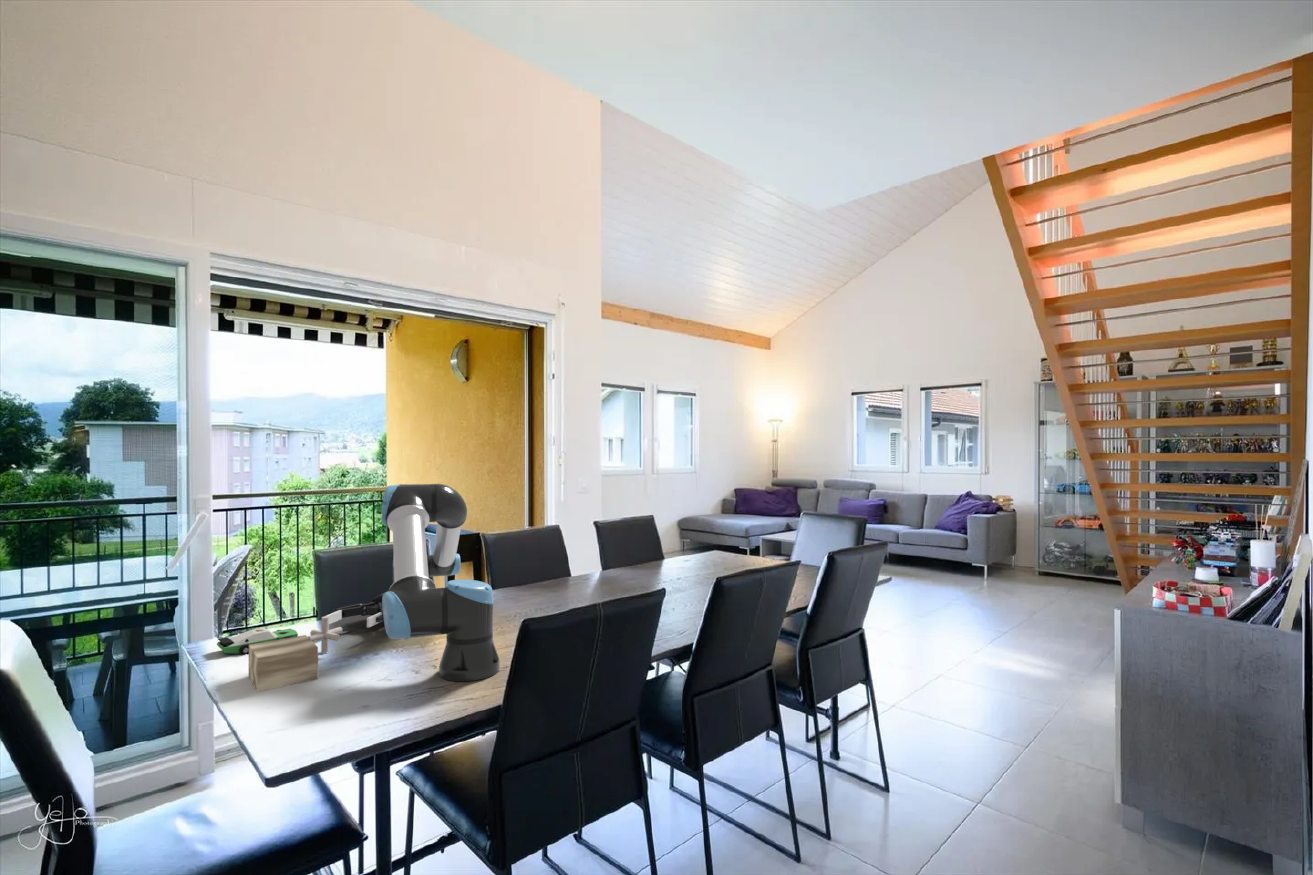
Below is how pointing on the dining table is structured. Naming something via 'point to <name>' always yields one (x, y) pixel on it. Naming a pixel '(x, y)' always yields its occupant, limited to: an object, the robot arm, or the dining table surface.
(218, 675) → the dining table surface
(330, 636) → the pipe connector
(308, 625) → the dining table surface
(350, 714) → the dining table surface
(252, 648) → the birch block
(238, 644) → the toy car
